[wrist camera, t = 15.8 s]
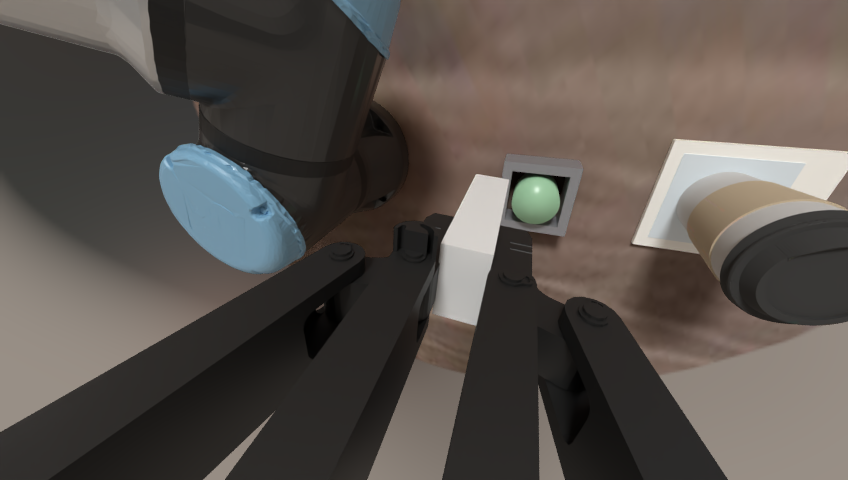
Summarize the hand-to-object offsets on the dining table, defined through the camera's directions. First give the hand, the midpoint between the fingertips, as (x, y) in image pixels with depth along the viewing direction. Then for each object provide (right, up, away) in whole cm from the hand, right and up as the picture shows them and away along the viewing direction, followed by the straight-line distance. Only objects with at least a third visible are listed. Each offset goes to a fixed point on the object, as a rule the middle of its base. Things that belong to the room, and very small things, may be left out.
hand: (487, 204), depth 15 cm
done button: (+10, +4, +23) cm, 25 cm away
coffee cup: (+28, +2, +18) cm, 33 cm away
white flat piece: (+29, +2, +18) cm, 34 cm away
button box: (+11, +5, +23) cm, 26 cm away
